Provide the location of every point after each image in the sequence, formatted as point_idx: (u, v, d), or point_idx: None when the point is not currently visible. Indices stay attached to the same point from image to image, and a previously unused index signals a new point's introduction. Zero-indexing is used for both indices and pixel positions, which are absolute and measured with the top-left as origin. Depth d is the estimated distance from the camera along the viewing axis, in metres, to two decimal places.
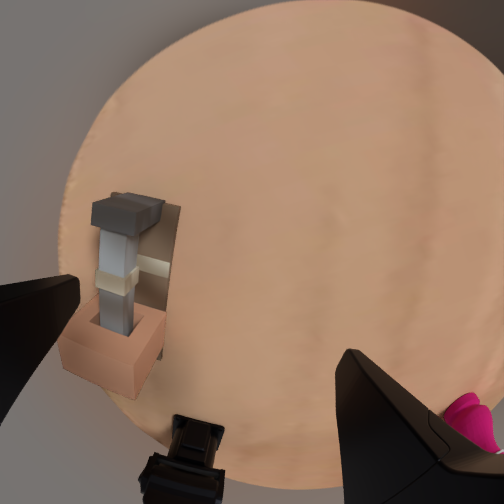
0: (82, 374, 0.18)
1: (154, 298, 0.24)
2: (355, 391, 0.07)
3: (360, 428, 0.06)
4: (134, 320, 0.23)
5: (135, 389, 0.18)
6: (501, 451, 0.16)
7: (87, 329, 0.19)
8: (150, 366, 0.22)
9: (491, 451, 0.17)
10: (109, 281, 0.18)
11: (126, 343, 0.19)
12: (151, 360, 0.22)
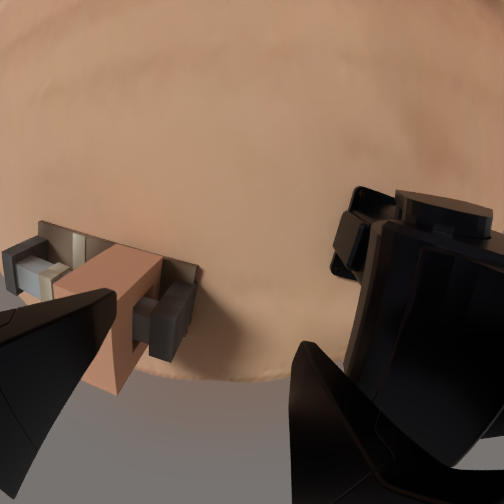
0: (107, 371, 0.14)
1: None
2: (304, 385, 0.06)
3: (306, 425, 0.06)
4: None
5: None
6: None
7: None
8: (134, 275, 0.16)
9: None
10: (44, 291, 0.16)
11: None
12: (127, 271, 0.16)
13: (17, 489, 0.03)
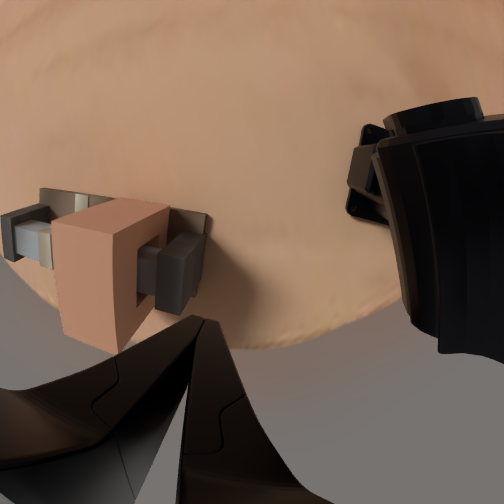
0: (107, 322, 0.13)
1: None
2: (191, 361, 0.06)
3: None
4: None
5: (95, 228, 0.11)
6: None
7: None
8: (139, 215, 0.15)
9: None
10: (43, 250, 0.15)
11: None
12: (132, 213, 0.15)
13: None
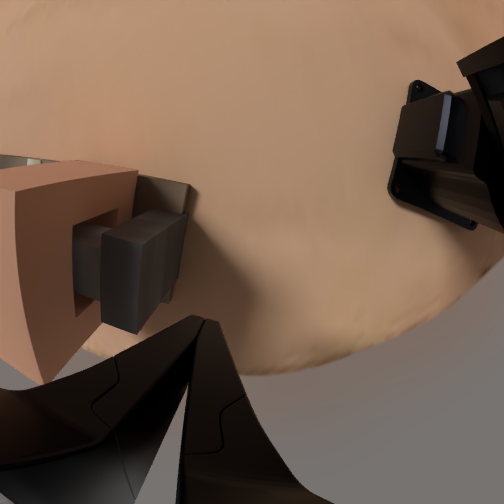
0: (22, 339, 0.06)
1: None
2: (192, 361, 0.06)
3: None
4: None
5: None
6: None
7: None
8: (83, 174, 0.09)
9: None
10: None
11: None
12: (75, 171, 0.09)
13: None
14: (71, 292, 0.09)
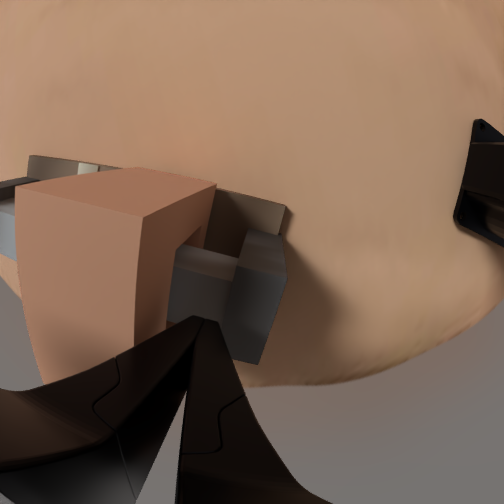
0: None
1: None
2: (191, 361, 0.06)
3: None
4: None
5: (100, 203, 0.05)
6: None
7: None
8: (180, 190, 0.09)
9: None
10: None
11: None
12: (166, 185, 0.09)
13: None
14: (165, 321, 0.09)
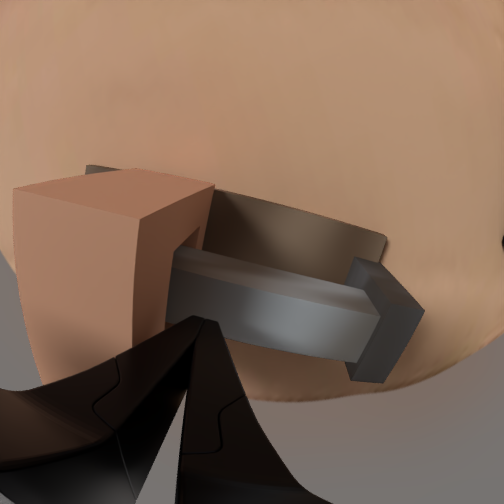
0: None
1: (237, 218, 0.13)
2: (191, 361, 0.06)
3: (185, 402, 0.06)
4: None
5: (97, 205, 0.05)
6: None
7: None
8: (178, 191, 0.09)
9: None
10: None
11: None
12: (163, 186, 0.09)
13: None
14: (163, 323, 0.09)
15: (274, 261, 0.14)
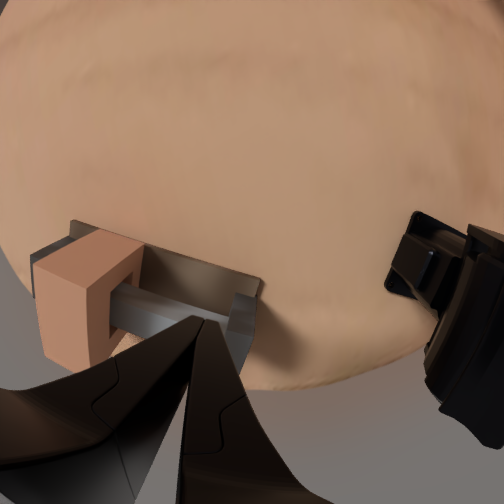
0: (82, 355, 0.13)
1: (159, 264, 0.20)
2: (191, 361, 0.06)
3: None
4: None
5: (71, 279, 0.12)
6: None
7: None
8: (113, 259, 0.15)
9: None
10: None
11: None
12: (107, 255, 0.16)
13: None
14: (108, 326, 0.16)
15: (183, 291, 0.21)
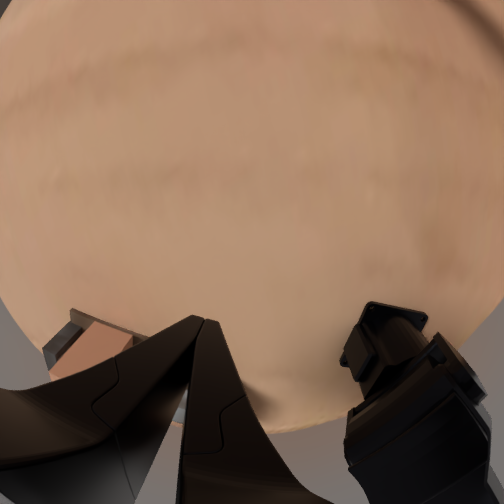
0: None
1: None
2: (192, 361, 0.06)
3: None
4: None
5: None
6: None
7: None
8: None
9: None
10: None
11: None
12: (103, 355, 0.19)
13: None
14: None
15: None
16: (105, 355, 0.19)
